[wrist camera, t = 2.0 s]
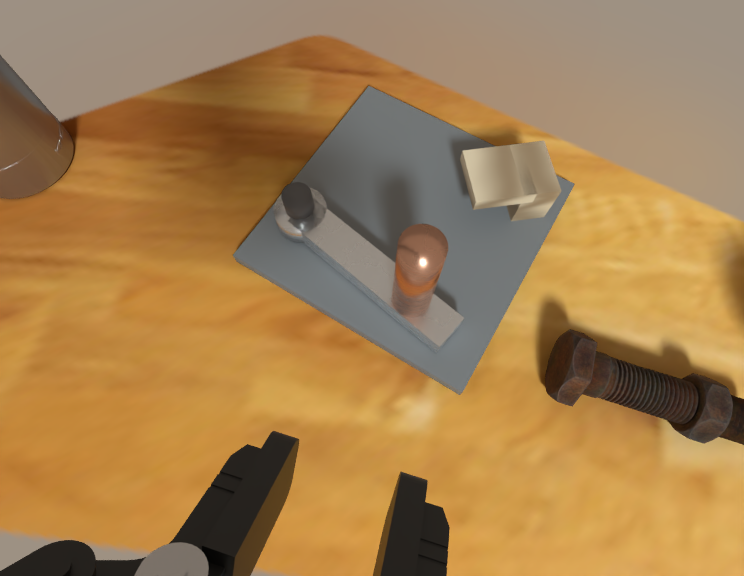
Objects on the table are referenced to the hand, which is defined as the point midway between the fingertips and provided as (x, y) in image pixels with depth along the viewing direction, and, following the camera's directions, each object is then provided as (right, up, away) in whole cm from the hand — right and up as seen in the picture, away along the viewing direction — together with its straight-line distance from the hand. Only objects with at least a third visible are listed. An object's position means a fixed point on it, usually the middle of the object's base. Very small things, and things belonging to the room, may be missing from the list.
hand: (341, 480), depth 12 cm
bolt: (+22, -4, +25) cm, 33 cm away
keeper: (+12, +13, +30) cm, 35 cm away
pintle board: (+4, +11, +30) cm, 32 cm away
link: (0, +7, +27) cm, 28 cm away
